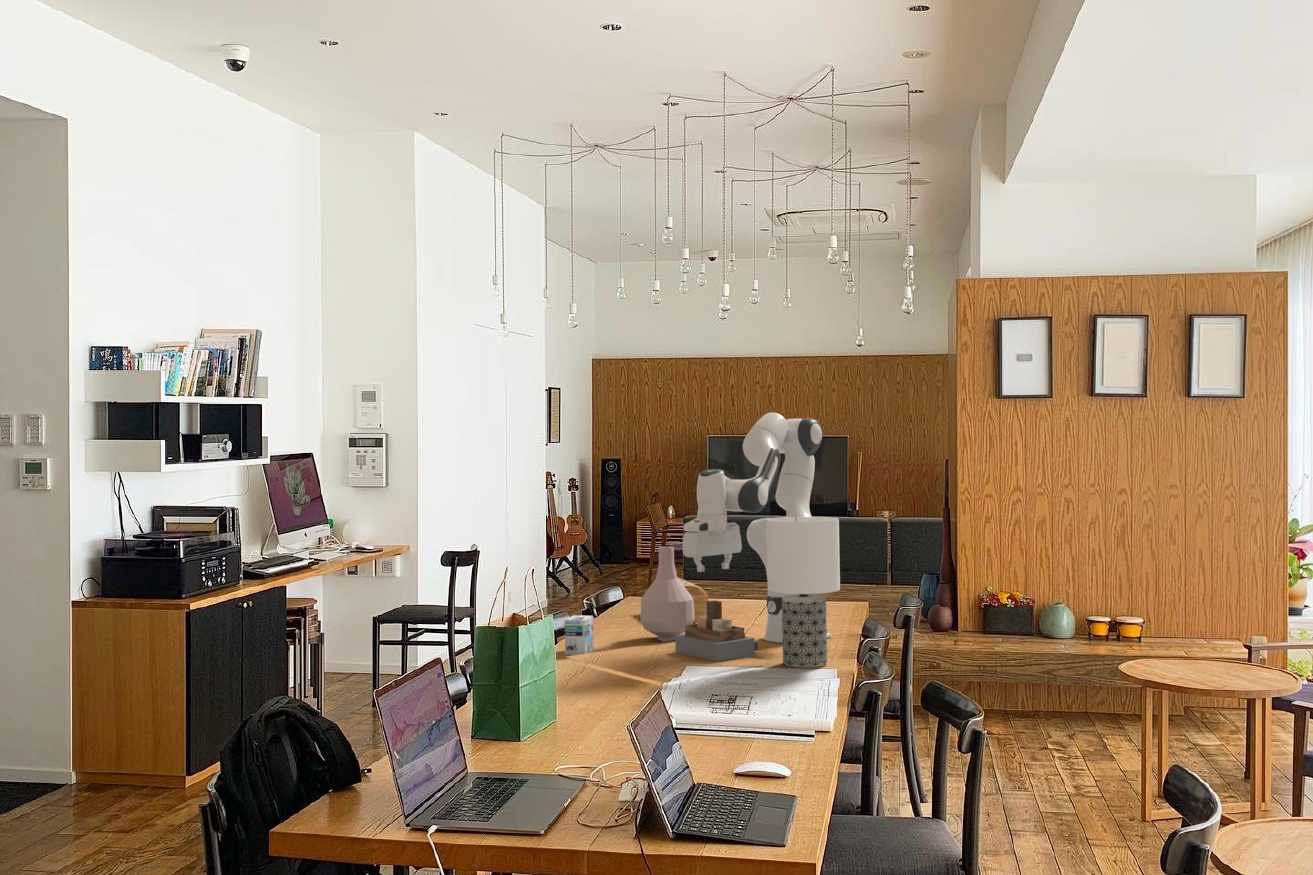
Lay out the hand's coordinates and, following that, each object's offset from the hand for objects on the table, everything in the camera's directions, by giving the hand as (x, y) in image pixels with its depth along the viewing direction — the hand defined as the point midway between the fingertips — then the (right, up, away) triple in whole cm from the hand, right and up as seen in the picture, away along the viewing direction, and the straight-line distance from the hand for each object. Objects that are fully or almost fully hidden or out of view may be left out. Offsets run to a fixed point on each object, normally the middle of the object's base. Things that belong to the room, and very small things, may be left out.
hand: (713, 570), depth 350 cm
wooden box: (-8, -27, +77) cm, 82 cm away
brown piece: (0, -20, 0) cm, 20 cm away
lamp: (+26, -26, -14) cm, 39 cm away
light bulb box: (-41, -27, +12) cm, 50 cm away
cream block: (+2, -18, -3) cm, 19 cm away
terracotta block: (-2, -18, +3) cm, 19 cm away
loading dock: (0, -26, 0) cm, 26 cm away
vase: (-13, -26, +32) cm, 44 cm away
